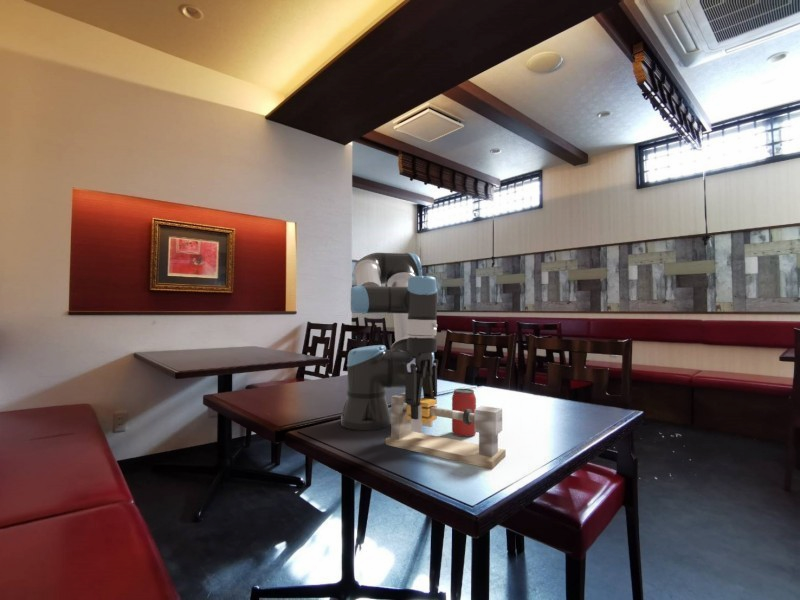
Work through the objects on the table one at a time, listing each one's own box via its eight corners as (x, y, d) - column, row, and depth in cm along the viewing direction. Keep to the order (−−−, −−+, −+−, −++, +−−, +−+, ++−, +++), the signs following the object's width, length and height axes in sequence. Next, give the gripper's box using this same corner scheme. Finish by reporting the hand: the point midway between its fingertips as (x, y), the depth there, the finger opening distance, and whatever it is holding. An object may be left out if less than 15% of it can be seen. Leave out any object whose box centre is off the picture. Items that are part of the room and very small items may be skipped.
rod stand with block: (385, 444, 98) (385, 397, 98) (404, 435, 105) (404, 391, 106) (492, 469, 82) (492, 412, 83) (505, 456, 90) (505, 404, 91)
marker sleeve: (406, 419, 97) (406, 400, 97) (416, 415, 101) (416, 396, 101) (427, 423, 94) (427, 403, 94) (436, 418, 98) (436, 399, 98)
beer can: (447, 431, 109) (447, 389, 109) (467, 429, 111) (467, 387, 112) (460, 438, 103) (460, 393, 103) (480, 435, 105) (480, 391, 106)
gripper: (417, 338, 89) (416, 441, 88) (450, 335, 104) (450, 422, 103) (390, 337, 93) (389, 435, 92) (426, 334, 108) (425, 418, 107)
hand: (421, 428), depth 97 cm, fingers closed on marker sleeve, 5 cm apart
